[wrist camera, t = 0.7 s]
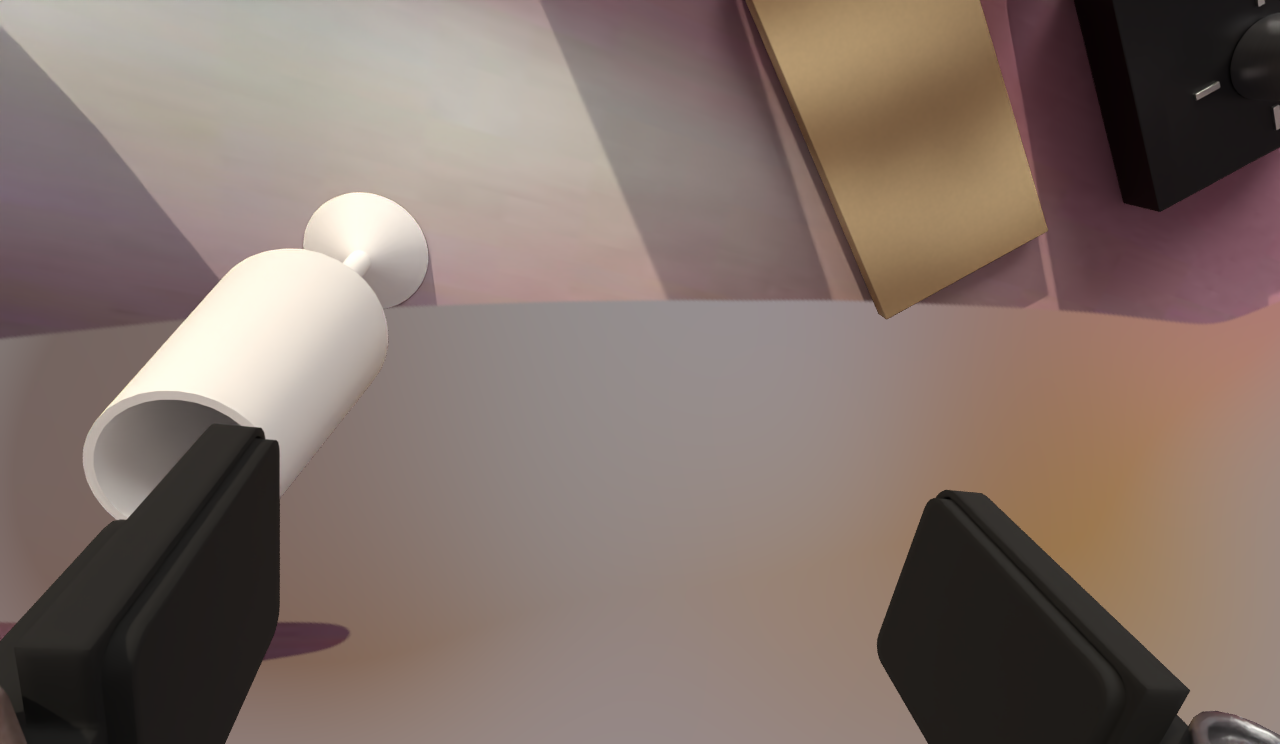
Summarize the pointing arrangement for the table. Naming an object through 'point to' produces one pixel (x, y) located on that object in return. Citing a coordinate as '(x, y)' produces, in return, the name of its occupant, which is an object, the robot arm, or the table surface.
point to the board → (906, 135)
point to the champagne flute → (266, 351)
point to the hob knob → (1258, 61)
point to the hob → (1175, 93)
